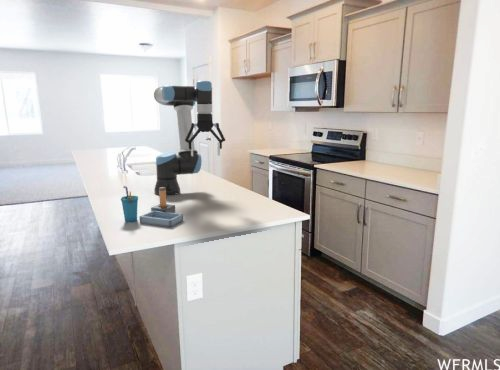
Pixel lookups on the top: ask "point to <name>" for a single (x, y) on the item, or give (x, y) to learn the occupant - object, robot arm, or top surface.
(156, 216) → the tray
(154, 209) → the hitch block
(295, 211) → the top surface
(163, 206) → the pin
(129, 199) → the cup
